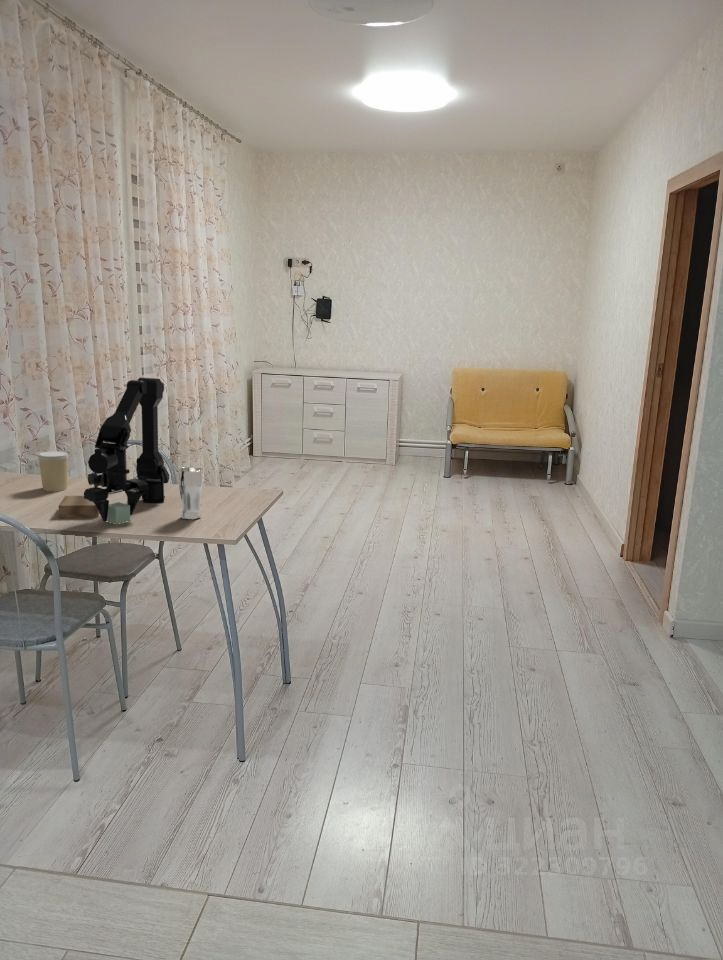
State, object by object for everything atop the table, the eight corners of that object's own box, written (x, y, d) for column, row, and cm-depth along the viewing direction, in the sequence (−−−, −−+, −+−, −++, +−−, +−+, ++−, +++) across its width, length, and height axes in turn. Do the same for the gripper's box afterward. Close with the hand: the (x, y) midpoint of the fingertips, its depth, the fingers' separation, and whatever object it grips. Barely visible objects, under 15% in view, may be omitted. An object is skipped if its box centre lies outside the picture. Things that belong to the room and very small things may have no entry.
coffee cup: (73, 485, 258) (72, 451, 255) (64, 492, 248) (63, 457, 246) (46, 484, 257) (44, 450, 254) (35, 491, 248) (33, 456, 245)
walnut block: (103, 507, 235) (102, 495, 234) (98, 518, 224) (97, 505, 223) (66, 508, 233) (65, 495, 232) (59, 518, 222) (58, 505, 221)
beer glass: (202, 520, 225) (202, 471, 222) (178, 520, 224) (178, 471, 220) (203, 514, 232) (203, 466, 228) (180, 514, 231) (179, 466, 227)
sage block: (119, 518, 224) (118, 502, 223) (130, 521, 221) (129, 505, 220) (105, 521, 220) (104, 505, 219) (116, 525, 217) (115, 508, 216)
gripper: (123, 457, 229) (124, 506, 232) (70, 466, 213) (72, 519, 217) (148, 462, 223) (149, 513, 226) (95, 473, 208) (97, 527, 211)
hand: (117, 518), depth 220 cm, fingers open, 9 cm apart
